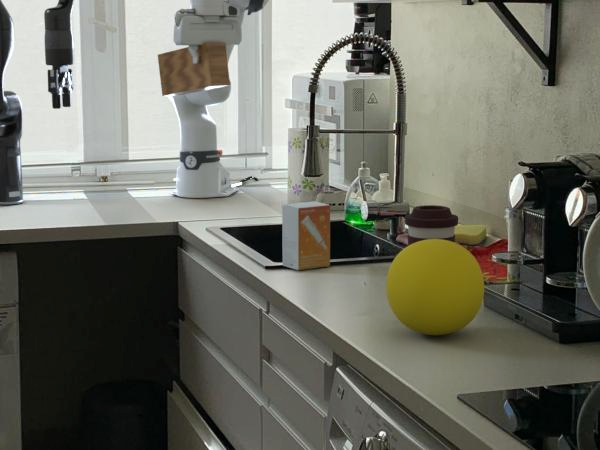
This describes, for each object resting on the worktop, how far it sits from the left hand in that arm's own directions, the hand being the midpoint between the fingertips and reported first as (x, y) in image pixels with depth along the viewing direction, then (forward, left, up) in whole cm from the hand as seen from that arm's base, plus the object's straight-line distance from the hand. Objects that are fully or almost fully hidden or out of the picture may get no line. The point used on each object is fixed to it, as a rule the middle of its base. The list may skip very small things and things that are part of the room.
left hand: (62, 107), depth 285 cm
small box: (+99, +4, -30) cm, 103 cm away
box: (+27, +25, +4) cm, 38 cm away
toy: (+152, -14, -30) cm, 155 cm away
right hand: (+33, +26, +12) cm, 44 cm away
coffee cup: (+128, +10, -30) cm, 132 cm away
